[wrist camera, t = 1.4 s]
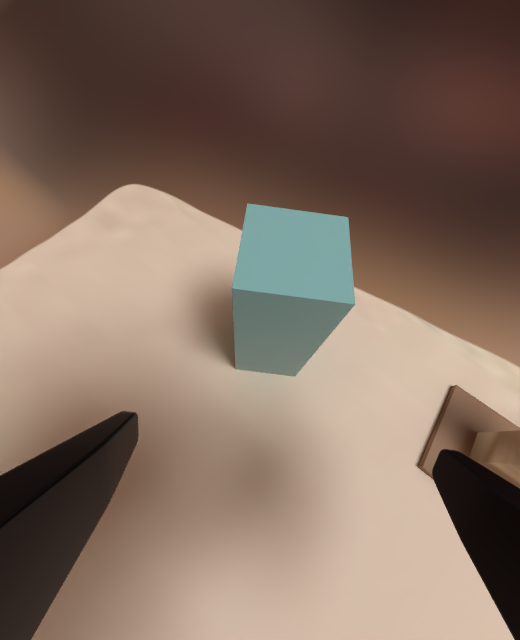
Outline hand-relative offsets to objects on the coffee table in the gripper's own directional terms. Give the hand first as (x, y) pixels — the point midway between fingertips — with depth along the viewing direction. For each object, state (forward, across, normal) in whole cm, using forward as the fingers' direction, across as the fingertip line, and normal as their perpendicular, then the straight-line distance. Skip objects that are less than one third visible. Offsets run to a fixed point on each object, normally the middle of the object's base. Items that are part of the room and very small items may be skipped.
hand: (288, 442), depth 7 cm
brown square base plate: (+10, -18, +8) cm, 22 cm away
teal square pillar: (+15, 0, +3) cm, 15 cm away
